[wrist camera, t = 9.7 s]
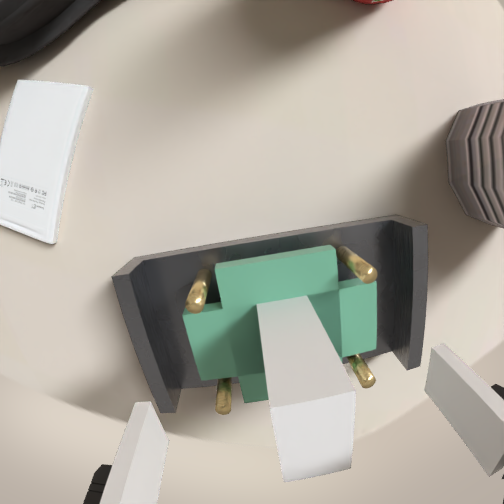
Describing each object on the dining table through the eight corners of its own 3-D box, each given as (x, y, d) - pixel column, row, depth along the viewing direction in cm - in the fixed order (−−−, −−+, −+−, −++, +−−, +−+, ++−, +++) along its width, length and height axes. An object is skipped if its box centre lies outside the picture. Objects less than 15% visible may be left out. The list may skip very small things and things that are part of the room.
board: (210, 396, 21) (199, 512, 11) (176, 269, 19) (119, 363, 9) (369, 368, 21) (427, 465, 11) (367, 238, 19) (468, 297, 9)
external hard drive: (97, 90, 20) (60, 241, 22) (26, 82, 19) (-4, 216, 21) (88, 85, 18) (50, 245, 21) (15, 79, 17) (-14, 219, 20)
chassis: (170, 379, 25) (155, 430, 19) (134, 257, 22) (98, 287, 16) (397, 339, 25) (431, 380, 18) (396, 214, 22) (444, 230, 16)
